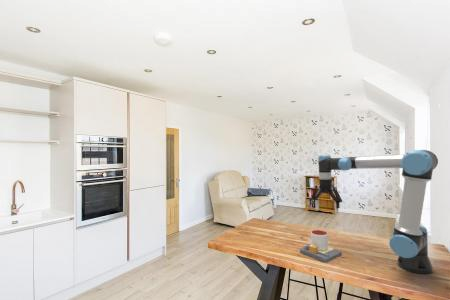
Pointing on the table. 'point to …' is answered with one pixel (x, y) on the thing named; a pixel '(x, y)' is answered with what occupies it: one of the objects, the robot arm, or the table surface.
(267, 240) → the table surface
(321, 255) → the gray square tray
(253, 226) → the table surface
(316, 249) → the toggle
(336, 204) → the robot arm
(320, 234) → the cup
